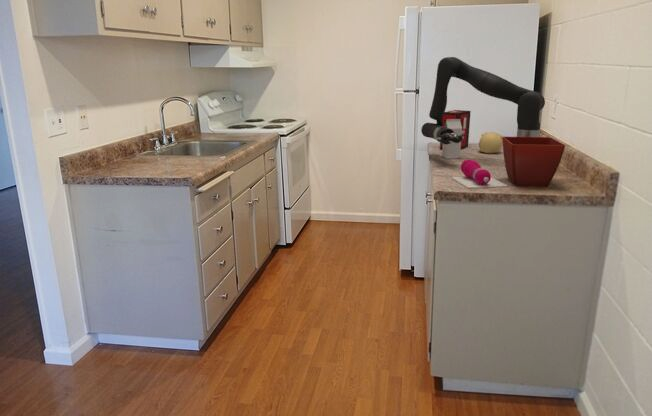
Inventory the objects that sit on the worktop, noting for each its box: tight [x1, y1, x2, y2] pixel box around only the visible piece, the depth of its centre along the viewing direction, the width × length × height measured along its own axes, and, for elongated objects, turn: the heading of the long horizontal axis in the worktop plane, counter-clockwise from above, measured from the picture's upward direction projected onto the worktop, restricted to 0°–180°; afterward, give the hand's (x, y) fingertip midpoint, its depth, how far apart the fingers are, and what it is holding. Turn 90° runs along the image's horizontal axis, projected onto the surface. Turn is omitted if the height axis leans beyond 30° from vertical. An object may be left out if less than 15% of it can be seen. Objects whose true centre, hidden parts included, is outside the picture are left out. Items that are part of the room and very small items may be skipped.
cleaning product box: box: [439, 109, 472, 151], centre depth 274 cm, size 16×9×20 cm, turn 141°
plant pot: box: [502, 136, 566, 187], centre depth 198 cm, size 19×19×17 cm
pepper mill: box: [460, 159, 492, 185], centre depth 201 cm, size 7×7×20 cm
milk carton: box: [441, 119, 462, 159], centre depth 250 cm, size 7×7×19 cm
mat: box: [450, 175, 509, 189], centre depth 201 cm, size 18×16×1 cm
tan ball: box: [478, 131, 504, 154], centre depth 262 cm, size 12×12×11 cm
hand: (457, 140), depth 220 cm, fingers closed
